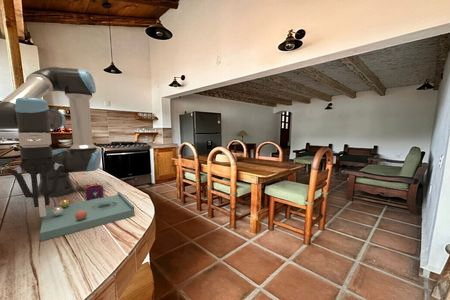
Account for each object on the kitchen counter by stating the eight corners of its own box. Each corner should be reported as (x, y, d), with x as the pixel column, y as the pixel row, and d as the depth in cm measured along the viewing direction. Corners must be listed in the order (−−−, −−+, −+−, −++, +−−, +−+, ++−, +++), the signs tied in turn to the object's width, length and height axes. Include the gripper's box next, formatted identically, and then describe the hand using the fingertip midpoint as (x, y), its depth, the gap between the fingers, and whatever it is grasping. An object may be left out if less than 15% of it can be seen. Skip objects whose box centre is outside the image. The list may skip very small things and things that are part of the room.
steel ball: (52, 215, 68) (51, 207, 68) (64, 213, 70) (63, 204, 70) (51, 218, 66) (51, 209, 65) (64, 216, 68) (63, 207, 68)
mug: (86, 205, 85) (85, 190, 84) (86, 198, 93) (84, 185, 92) (104, 201, 89) (103, 187, 88) (102, 196, 97) (101, 182, 96)
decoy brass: (59, 207, 76) (58, 199, 76) (70, 205, 78) (69, 197, 78) (59, 209, 73) (58, 201, 73) (70, 207, 76) (69, 199, 75)
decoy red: (75, 219, 65) (74, 210, 65) (86, 216, 67) (86, 207, 67) (75, 222, 63) (74, 213, 63) (87, 219, 65) (87, 210, 65)
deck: (45, 215, 75) (44, 205, 74) (119, 199, 92) (119, 191, 91) (40, 241, 57) (39, 229, 56) (134, 215, 73) (134, 206, 73)
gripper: (4, 148, 56) (13, 225, 58) (62, 145, 65) (68, 213, 67) (9, 146, 62) (17, 217, 64) (62, 144, 70) (67, 207, 73)
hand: (43, 215), depth 65 cm, fingers closed
